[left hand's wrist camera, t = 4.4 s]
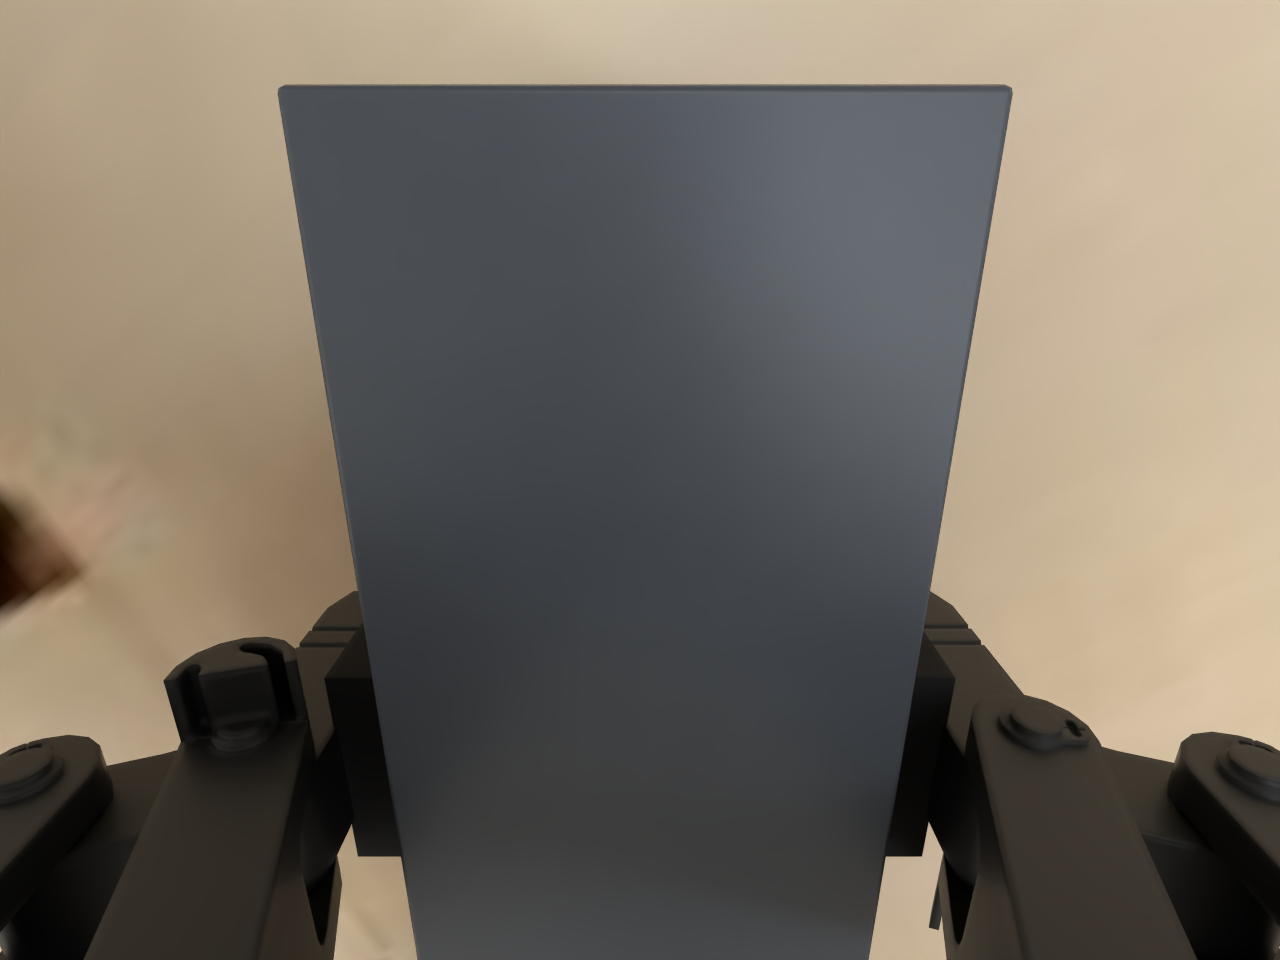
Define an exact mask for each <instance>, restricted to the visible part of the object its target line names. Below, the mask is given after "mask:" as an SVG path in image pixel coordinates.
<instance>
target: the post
mask: <svg viewBox="0 0 1280 960" xmlns="http://www.w3.org/2000/svg"><path fill="white" fill-rule="evenodd" d="M278 98H279V104H280V110H281V117H282V123H283V129H284V135H285V141H286V148H287V154H288V160H289V166H290V172H291V178H292V185H293V191H294V197H295V203H296V209H297V216H298V222H299V228H300V234H301V240H302V247H303V253H304V259H305V265H306V271H307V277H308V284H309V290H310V296H311V302H312V308H313V315H314V321H315V327H316V333H317V339H318V345H319V352H320V358H321V364H322V370H323V376H324V383H325V389H326V395H327V401H328V407H329V414H330V420H331V426H332V432H333V438H334V444H335V451H336V457H337V463H338V469H339V475H340V482H341V488H342V494H343V500H344V506H345V512H346V519H347V525H348V531H349V537H350V543H351V550H352V556H353V562H354V568H355V574H356V580H357V587H358V593H359V599H360V605H361V611H362V618H363V624H364V630H365V636H366V642H367V649H368V655H369V661H370V667H371V673H372V679H373V686H374V692H375V698H376V704H377V710H378V717H379V723H380V729H381V735H382V741H383V747H384V754H385V760H386V766H387V772H388V778H389V785H390V791H391V797H392V803H393V809H394V816H395V822H396V828H397V834H398V840H399V846H400V853H401V859H402V865H403V871H404V877H405V884H406V890H407V896H408V902H409V908H410V914H411V921H412V927H413V933H414V939H415V945H416V952H417V958H418V960H869V953H870V947H871V941H872V935H873V929H874V923H875V917H876V911H877V905H878V899H879V893H880V887H881V881H882V875H883V869H884V863H885V857H886V851H887V845H888V839H889V833H890V827H891V821H892V815H893V809H894V803H895V797H896V791H897V785H898V779H899V773H900V767H901V761H902V755H903V749H904V743H905V737H906V731H907V725H908V719H909V713H910V707H911V701H912V695H913V689H914V683H915V677H916V671H917V665H918V659H919V653H920V647H921V641H922V635H923V629H924V623H925V617H926V611H927V605H928V599H929V593H930V587H931V581H932V575H933V569H934V563H935V557H936V551H937V545H938V539H939V533H940V527H941V521H942V515H943V509H944V503H945V497H946V491H947V484H948V478H949V472H950V466H951V460H952V454H953V448H954V442H955V436H956V430H957V424H958V418H959V412H960V406H961V400H962V394H963V388H964V382H965V376H966V370H967V364H968V358H969V352H970V346H971V340H972V334H973V328H974V322H975V316H976V310H977V304H978V298H979V292H980V286H981V280H982V274H983V268H984V262H985V256H986V250H987V244H988V238H989V232H990V226H991V220H992V214H993V208H994V202H995V196H996V190H997V184H998V178H999V172H1000V166H1001V160H1002V154H1003V148H1004V142H1005V136H1006V130H1007V124H1008V118H1009V112H1010V106H1011V100H1012V88H1011V87H1009V86H1007V85H284V86H282V87H280V88H279V89H278Z"/></svg>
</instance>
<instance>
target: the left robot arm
mask: <svg viewBox="0 0 1280 960" xmlns="http://www.w3.org/2000/svg"><path fill="white" fill-rule="evenodd" d="M164 684H165V688H166V691H167V694H168V698H169V701H170V705H171V708H172V712H173V715H174V719H175V722H176V726H177V729H178V733H179V736H180V740H181V743H180V745H179V748H178V750H176V751H173V752H169V753H165V754H161V755H156V756H152V757H147V758H142V759H138V760H133V761H128V762H123V763H119V764H114V765H109V766H107V765H106V762H105V759H104V757H103V754H102V751H101V748H100V745H98V744H97V743H96V742H94V741H93V740H92V739H90V738H89V737H83V736H74V735H65V736H58V737H51V738H44V739H40V740H36V741H32V742H29V743H28V744H26V743H25V744H23V745H20V746H17V747H14V748H12V749H10V750H8V751H7V752H5V753H3V754H1V755H0V947H1V949H2V951H1V953H0V960H333V959H334V950H335V941H336V932H337V924H338V915H339V906H340V897H341V888H342V880H341V873H340V867H339V862H338V857H337V854H338V852H339V850H340V848H341V845H342V843H343V841H344V839H345V837H346V835H347V833H348V831H349V829H350V826H351V824H352V827H353V832H354V838H355V843H356V848H357V853H358V856H401V853H400V846H399V840H398V834H397V828H396V822H395V816H394V809H393V803H392V797H391V791H390V785H389V778H388V772H387V766H386V760H385V754H384V747H383V741H382V735H381V729H380V723H379V717H378V710H377V704H376V698H375V692H374V686H373V679H372V673H371V667H370V661H369V655H368V649H367V642H366V636H365V630H364V624H363V618H362V611H361V605H360V599H359V593H358V591H353V592H352V593H350V594H349V595H347V596H346V597H344V598H343V599H341V600H339V601H338V602H336V603H335V604H333V605H332V606H330V607H328V608H327V610H326V611H325V612H324V613H323V615H322V616H321V617H320V618H319V620H318V621H317V622H316V623H315V625H314V626H313V629H312V631H309V632H308V634H307V635H306V636H305V637H304V639H303V640H302V641H301V642H300V647H296V649H295V648H293V647H292V646H291V645H290V644H288V643H287V642H286V641H284V640H280V639H275V638H270V637H254V638H242V639H238V640H234V641H229V642H225V643H221V644H218V645H216V646H213V647H211V648H208V649H206V650H203V651H201V652H198V653H196V654H194V655H193V656H191V657H190V658H188V659H187V660H185V661H184V662H182V663H181V664H179V665H177V666H176V667H175V668H174V669H173V670H172V672H171V673H170V674H169V675H168V676H167V677H166V678H165V680H164ZM928 822H929V823H930V825H931V827H932V829H933V831H934V833H935V835H936V838H937V840H938V842H939V844H940V846H941V848H942V850H943V857H942V862H941V867H940V872H939V877H938V882H937V886H936V891H935V896H934V901H933V906H932V911H931V917H930V924H929V928H933V929H936V930H939V926H940V921H941V916H942V922H943V931H944V940H945V948H946V957H947V960H1280V948H1279V947H1280V751H1279V750H1277V749H1275V748H1274V747H1272V746H1270V745H1267V744H1265V743H1262V742H1259V741H1254V740H1252V739H1250V738H1246V737H1242V736H1238V735H1231V734H1224V733H1217V732H1206V733H1198V734H1192V735H1190V736H1189V737H1188V738H1186V739H1185V740H1184V741H1182V742H1181V745H1180V748H1179V751H1178V754H1177V757H1176V759H1175V762H1174V763H1171V762H1167V761H1162V760H1157V759H1152V758H1148V757H1143V756H1138V755H1134V754H1129V753H1124V752H1119V751H1115V750H1111V749H1108V748H1104V747H1102V746H1101V744H1100V742H1099V740H1098V739H1097V738H1096V736H1095V735H1094V733H1093V732H1092V731H1091V729H1090V728H1089V727H1088V725H1086V724H1085V723H1084V722H1082V721H1081V720H1080V719H1078V718H1077V717H1076V716H1074V715H1073V714H1072V713H1070V712H1069V711H1067V710H1065V709H1063V708H1061V707H1058V706H1056V705H1054V704H1052V703H1050V702H1048V701H1045V700H1042V699H1038V698H1034V697H1030V696H1027V695H1024V694H1023V693H1022V692H1021V690H1020V689H1019V688H1018V687H1017V685H1016V684H1015V683H1014V682H1013V680H1012V679H1011V678H1010V677H1009V675H1008V674H1007V673H1006V672H1005V670H1004V669H1003V668H1002V667H1001V665H1000V664H999V663H998V662H997V660H996V659H995V658H994V657H993V655H992V654H991V653H990V652H989V650H988V649H987V648H986V647H985V645H981V641H980V639H979V638H978V637H977V636H976V634H975V633H974V632H973V631H972V629H968V624H967V623H966V622H965V621H964V619H963V618H962V617H961V616H960V614H959V613H958V612H957V611H956V609H955V608H954V607H953V606H952V605H951V604H949V603H948V602H946V601H945V600H943V599H941V598H940V597H938V596H937V595H935V594H934V593H932V592H930V593H929V599H928V605H927V611H926V617H925V623H924V629H923V635H922V641H921V647H920V653H919V659H918V665H917V671H916V677H915V683H914V689H913V695H912V701H911V707H910V713H909V719H908V725H907V731H906V737H905V743H904V749H903V755H902V761H901V767H900V773H899V779H898V785H897V791H896V797H895V803H894V809H893V815H892V821H891V827H890V833H889V839H888V845H887V851H886V856H922V853H923V848H924V843H925V838H926V832H927V827H928Z"/></svg>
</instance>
